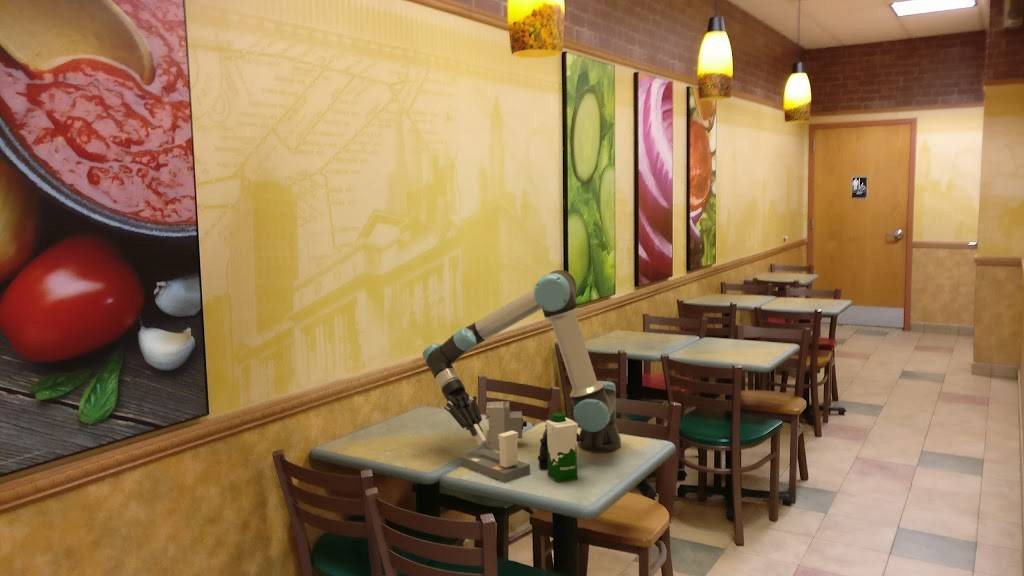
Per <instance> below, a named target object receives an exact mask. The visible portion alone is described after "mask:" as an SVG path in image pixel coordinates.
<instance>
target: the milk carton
mask: <svg viewBox="0 0 1024 576" xmlns="http://www.w3.org/2000/svg"><path fill="white" fill-rule="evenodd" d="M551 418H552V419H548V420H545V425H546V427H545V429H546V428H547V451H548V469H547V476H548V477H550V478H551V479H553V480H554V481H555V482H557V483H562V482H563V483H564V482H568V481H573V479H574V480H577V479H579V478H578V476H579V475H578V454H577V448H578V442H577V433H578V427H579V426H578V424H577V423H576V422H575V420H573V419H570V418H569V417H566V414H565V412H560V411H559V412H553V413H552V416H551Z"/></svg>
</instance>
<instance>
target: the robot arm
mask: <svg viewBox="0 0 1024 576" xmlns="http://www.w3.org/2000/svg"><path fill="white" fill-rule="evenodd" d="M576 293H577V283H576V280H575V278H574V276H573V275H572V274H571V273H570V272H568V271H566V270H563V269H560V270H559V269H558V270H553V271H550V272H549V273H548V274H546V275H543V276H542V277H541V278H539V280H538V281H537V283H535V284H534V288H533V289H531V290H528V292H526V293H524V294H522V295H520V296H519V297H516V298H515V299H513V300H511V301H509V302H508V303H506V304H504V305H503V306H501V307H499V308H498V309H496V310H494V311H492V312H491V313H488V314H487V315H486V316H484V317H482V318H480V319H478V320H477V321H475V322H474V323H470V325H467V326H466V327H461V328H460V329H459V330H457V331H455V332H454V334H452V335H451V336H450V337H449V338H448V339H447V340H446V341H444V342H443V343H442V344H440V343H432V344H430V345H428V346H427V347H426V348H424V350H423V351H422V358H423V359H424V362H425V365H426V366H427V367H428V369H429V371H430V373H431V374H432V376H433V378H434V380H435V382H436V384H437V386H438V387H439V389H440V390H441V393H442V395H443V397H444V399H445V400H446V401H447V403H446V404H445V405H444V408H443V409H444V410H446V411H447V412H448V413H449V414H450V415H451V416H452V418H453V419H454V420H455V421H456V422H457V423H458V424H459V426H460V427H461V428H462V429H465V431H469V432H470V434H471V436H472V437H474V439H475V441H476V442H477V444H478V445H479V446H481V445H483V444H484V443H485V442H487V440H486V437H485V435H484V433H483V432H484V431H483V429H482V427H481V425H480V423H481V422H482V421H483V418H482V415H481V411H480V409H479V406H478V403H477V396H476V395H474V396H472V395H469V394H468V392H466V388H465V387H466V386H464V384H463V382H462V380H461V379H460V376H459V375H458V373H457V371H456V370H455V367H454V366H453V364H454V363H455V362H457V361H458V360H459V359H460V358H462V357H463V356H464V355H465V354H466V353H468V352H469V351H470V350H473V348H474V347H477V346H478V345H480V344H483V342H486V341H487V340H488V339H491V338H492V337H494V336H496V335H497V334H500V333H501V332H503V331H505V330H507V329H508V328H510V327H513V326H514V325H516V324H517V323H519V322H521V321H523V320H525V319H527V318H528V317H531V316H532V315H534V314H536V313H537V312H539V311H541V310H542V312H543V313H542V314H543V316H544V318H545V320H548V321H550V323H551V326H552V329H553V332H554V335H555V338H556V342H557V344H558V348H559V352H560V354H561V357H562V361H563V363H564V367H565V369H566V373H567V376H568V380H569V382H570V384H571V385H570V386H571V387H572V390H571V392H570V394H569V397H570V400H571V403H572V405H573V412H572V413H573V414H572V415H573V421H574V422H575V423H577V424H578V427H579V428H580V431H579V433H578V434H579V438H578V439H579V442H577V448H579V449H581V450H583V451H586V452H590V453H610V452H614V450H615V451H617V450H619V449H620V448H621V447H622V439H621V435H620V432H619V430H618V426H617V412H616V410H617V408H616V407H617V405H616V404H617V402H616V401H617V399H616V396H617V395H616V393H617V390H616V384H615V383H614V382H612V381H606V380H605V381H604V380H597V377H596V373H595V371H594V367H593V365H592V361H591V358H590V355H589V351H588V348H587V346H586V343H585V340H584V336H583V333H582V331H581V330H582V329H581V327H580V324H579V320H578V317H577V314H576V313H577V311H578V309H579V306H578V302H577V299H576V296H575V295H576ZM618 448H619V449H618ZM616 449H617V450H616Z"/></svg>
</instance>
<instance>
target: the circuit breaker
mask: <svg viewBox="0 0 1024 576" xmlns="http://www.w3.org/2000/svg"><path fill="white" fill-rule="evenodd" d="M510 406H511V405H510V401H509V400H508V401H490V402H489V401H487V403H486V409H485V419H486V420H488V429H487V430H486V437H485V438H486V449H488V450H500V448H499V439H498V434H502V433H505V432H508V431H515V432H518V437H517V439H523V430H524V428H526V427H528V421H527V420H524V418H523V412H522V411H519V410H518V411H511V409H510V408H511V407H510Z"/></svg>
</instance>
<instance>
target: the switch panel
mask: <svg viewBox="0 0 1024 576" xmlns="http://www.w3.org/2000/svg"><path fill="white" fill-rule="evenodd" d="M460 466H461V467H464V468H467V469H469V470H471V471H474V470H475V471H474V472H477V473H479V472H480V473H479V474H481V473H482V475H484V474H485V475H484V476H486V475H487V477H490V478H492V479H494V480H496V479H497V481H500V482H501V481H502V482H501V483H504V484H505V483H507V482H510V481H513V480H516V479H520V478H521V477H525V476H527V475H531V465H530V464H529V463H526V462H523V461H521V460H519V459H518V464H516V465H513V466H510V467H507V468H505V467H503V466H500V452H499V453H498V452H496V451H494V450H492V449H487V448H484V449H481V450H477V451H474V452H470V453H468V454H465V455H461V456H460Z"/></svg>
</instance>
